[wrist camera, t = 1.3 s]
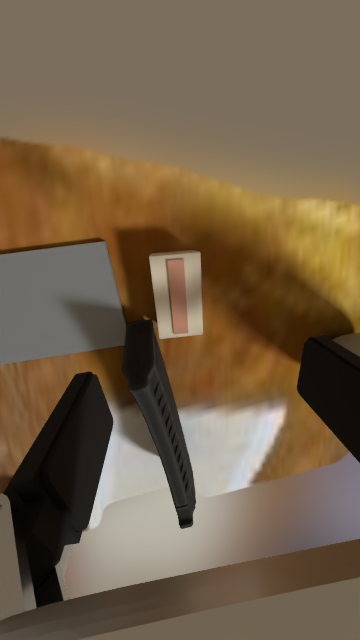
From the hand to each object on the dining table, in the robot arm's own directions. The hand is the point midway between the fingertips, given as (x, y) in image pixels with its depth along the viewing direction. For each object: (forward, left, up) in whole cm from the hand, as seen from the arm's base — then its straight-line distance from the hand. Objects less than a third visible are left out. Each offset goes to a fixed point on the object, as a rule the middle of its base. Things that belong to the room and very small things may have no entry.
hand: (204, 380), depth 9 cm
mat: (0, +17, -17) cm, 24 cm away
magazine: (-18, +4, -17) cm, 26 cm away
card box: (0, 0, -17) cm, 17 cm away
